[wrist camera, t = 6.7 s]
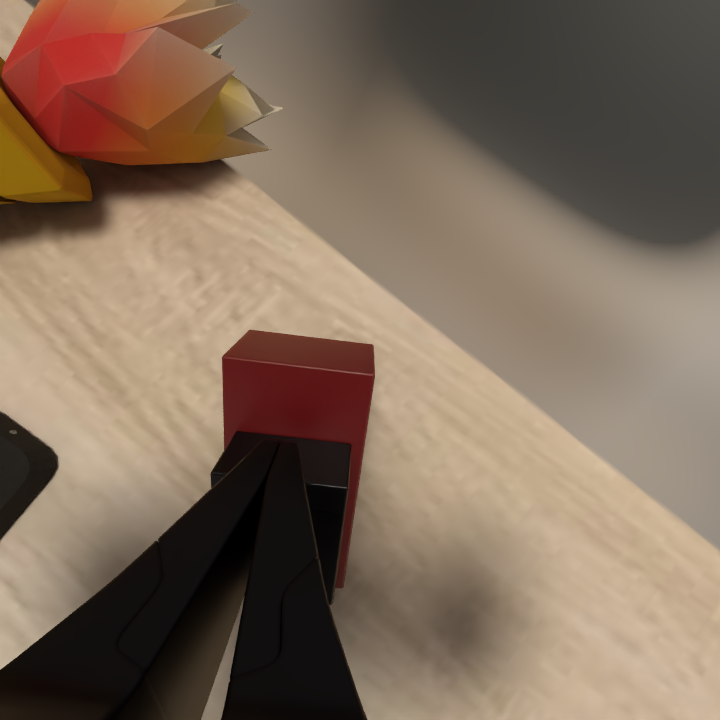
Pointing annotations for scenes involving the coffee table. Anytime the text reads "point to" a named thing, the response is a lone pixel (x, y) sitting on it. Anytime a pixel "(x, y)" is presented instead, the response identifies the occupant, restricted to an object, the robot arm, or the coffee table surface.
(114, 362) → the coffee table surface
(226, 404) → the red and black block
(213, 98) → the torch
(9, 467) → the remote control
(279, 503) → the robot arm
